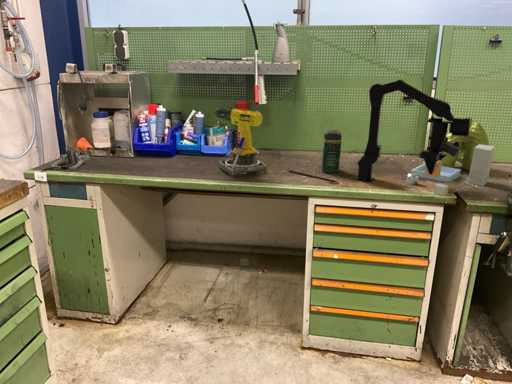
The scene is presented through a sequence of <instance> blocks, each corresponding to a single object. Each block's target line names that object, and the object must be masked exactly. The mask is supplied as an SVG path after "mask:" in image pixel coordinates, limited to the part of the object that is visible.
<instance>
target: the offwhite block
mask: <svg viewBox="0 0 512 384" xmlns="http://www.w3.org/2000/svg"><path fill="white" fill-rule="evenodd" d="M448 190H449V185H445V184H444V183H441V182H437V184H435V185H434V189H433V195H437V194H438V195H437V196H442V197H445V196H447V195H448V194H449V192H448ZM446 194H447V195H446Z"/></svg>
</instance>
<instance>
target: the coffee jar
mask: <svg viewBox="0 0 512 384" xmlns="http://www.w3.org/2000/svg"><path fill="white" fill-rule="evenodd" d="M342 135H343V134H342V132H340V131H339V130H337V129H329V130H327V131H325V132H324V133H323V143H322V144H323V145H322V156H321V157H322V158H321V159H322V160H321V172H322V173H323V172H324V173H328V174H336V173H338V172H339V171H340V161H341V151H342V150H341V149H342Z"/></svg>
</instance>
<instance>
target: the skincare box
mask: <svg viewBox="0 0 512 384" xmlns="http://www.w3.org/2000/svg"><path fill="white" fill-rule="evenodd" d="M495 149H496V146H495V145H490V144H489V145H481V144H479V145H478V146H476V147H475V148H474V153H473V158H472V164H471V169H470V170H469V174H468V178H467V179H468V180H467V184H470V185H475V186H481V187H485V186H486V184H488V182H489V177H490V172H491V168H492V163H493V158H494V154H495Z"/></svg>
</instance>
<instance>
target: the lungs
mask: <svg viewBox="0 0 512 384" xmlns="http://www.w3.org/2000/svg"><path fill="white" fill-rule="evenodd" d="M465 118H469V119H470V122H469V134H468V137H467V136H454V135H452V133H451V132H450V133H449V129H447V135H446V137H448V142H452V143H455V142H456V141H457V142H459V143H460V147H461V150H460V151H459V152H458V154H457V155H456V156H451V155H450V154H447V152H443V153H444V154H445V155H447V156H446V157H444V158H443V159H442V160H441V161H442V166H443V167H449V168H455V165H456V163H460V164H461V165H462V168H463V169H465V170H467V171H470V169H471V164H472V158H473V153H474V148H475V147H476V146H478V145H479V144H481V145H489V146H490V141H489V137H488V134H487V132H486V130H485V129H484V127H483V126H482V125H481V123H480V122H474V123H473V118H472V116H471V117H470V116H466V117H465ZM472 123H473V124H472Z"/></svg>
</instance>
